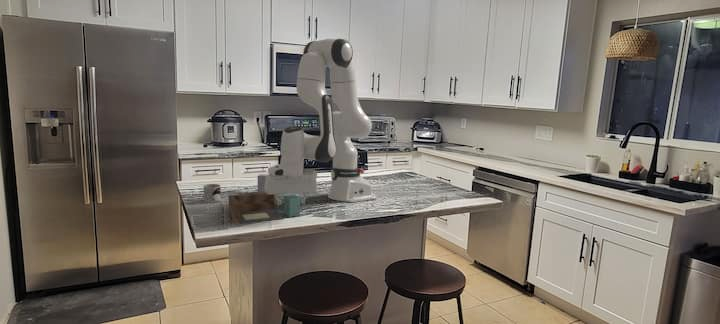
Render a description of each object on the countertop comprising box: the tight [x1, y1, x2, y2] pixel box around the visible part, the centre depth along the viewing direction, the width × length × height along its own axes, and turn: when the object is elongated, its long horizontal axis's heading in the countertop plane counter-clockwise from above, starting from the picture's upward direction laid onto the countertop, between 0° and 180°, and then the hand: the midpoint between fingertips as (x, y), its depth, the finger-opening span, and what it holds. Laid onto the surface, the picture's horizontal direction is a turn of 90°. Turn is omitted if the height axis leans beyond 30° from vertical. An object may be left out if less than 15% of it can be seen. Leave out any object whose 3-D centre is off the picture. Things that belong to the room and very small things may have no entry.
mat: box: [239, 209, 284, 224], centre depth 157 cm, size 16×12×1 cm
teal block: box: [283, 193, 301, 218], centre depth 162 cm, size 4×7×7 cm, turn 27°
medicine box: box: [257, 173, 269, 193], centre depth 191 cm, size 8×4×9 cm, turn 84°
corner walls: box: [228, 192, 276, 224], centre depth 157 cm, size 18×14×7 cm
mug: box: [203, 183, 222, 204], centre depth 176 cm, size 10×7×7 cm, turn 170°
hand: (290, 204), depth 161 cm, fingers open, 8 cm apart
